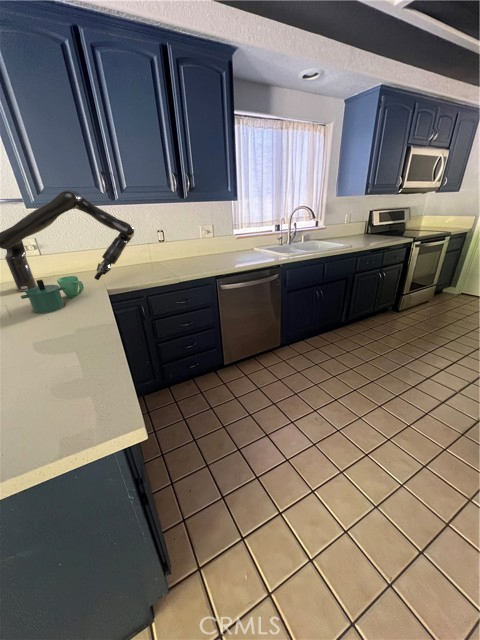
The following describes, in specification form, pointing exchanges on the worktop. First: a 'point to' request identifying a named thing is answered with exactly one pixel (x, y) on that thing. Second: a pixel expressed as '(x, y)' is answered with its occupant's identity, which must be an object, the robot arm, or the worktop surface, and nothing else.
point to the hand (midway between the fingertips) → (96, 279)
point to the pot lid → (42, 289)
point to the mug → (71, 285)
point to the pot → (46, 301)
